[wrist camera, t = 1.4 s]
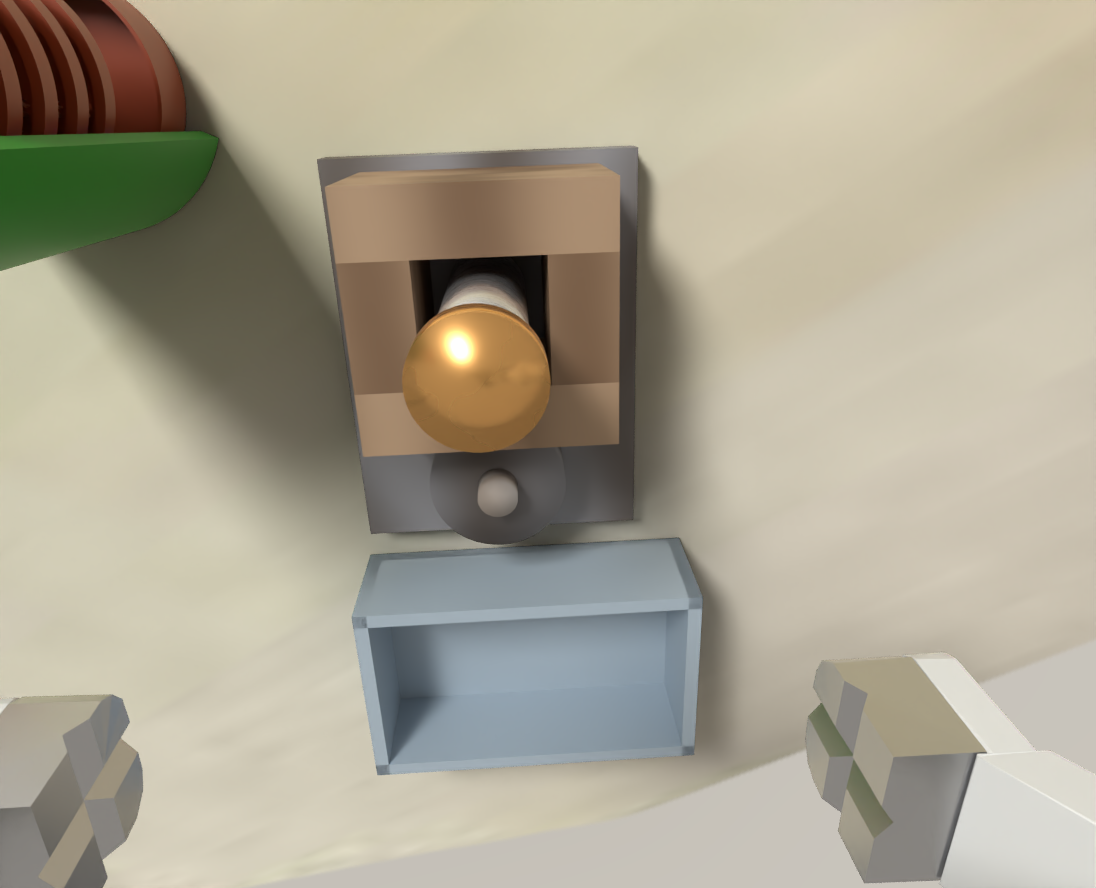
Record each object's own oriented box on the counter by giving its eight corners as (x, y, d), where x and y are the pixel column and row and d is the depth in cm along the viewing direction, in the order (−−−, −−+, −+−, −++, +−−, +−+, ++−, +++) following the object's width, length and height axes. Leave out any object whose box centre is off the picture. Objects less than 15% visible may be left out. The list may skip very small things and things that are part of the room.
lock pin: (532, 236, 30) (548, 309, 19) (536, 331, 32) (552, 449, 21) (435, 240, 30) (394, 315, 19) (443, 335, 31) (410, 456, 20)
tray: (678, 537, 38) (702, 597, 33) (672, 683, 41) (693, 755, 37) (370, 554, 37) (351, 617, 32) (391, 700, 41) (377, 775, 36)
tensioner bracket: (632, 145, 30) (669, 156, 23) (628, 504, 37) (656, 595, 30) (325, 157, 30) (271, 171, 23) (376, 517, 36) (345, 612, 29)
